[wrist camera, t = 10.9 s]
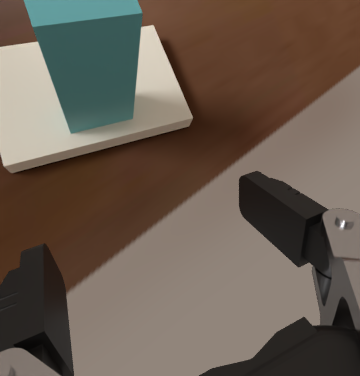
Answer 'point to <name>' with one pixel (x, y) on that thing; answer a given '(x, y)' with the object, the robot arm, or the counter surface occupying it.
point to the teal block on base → (84, 83)
